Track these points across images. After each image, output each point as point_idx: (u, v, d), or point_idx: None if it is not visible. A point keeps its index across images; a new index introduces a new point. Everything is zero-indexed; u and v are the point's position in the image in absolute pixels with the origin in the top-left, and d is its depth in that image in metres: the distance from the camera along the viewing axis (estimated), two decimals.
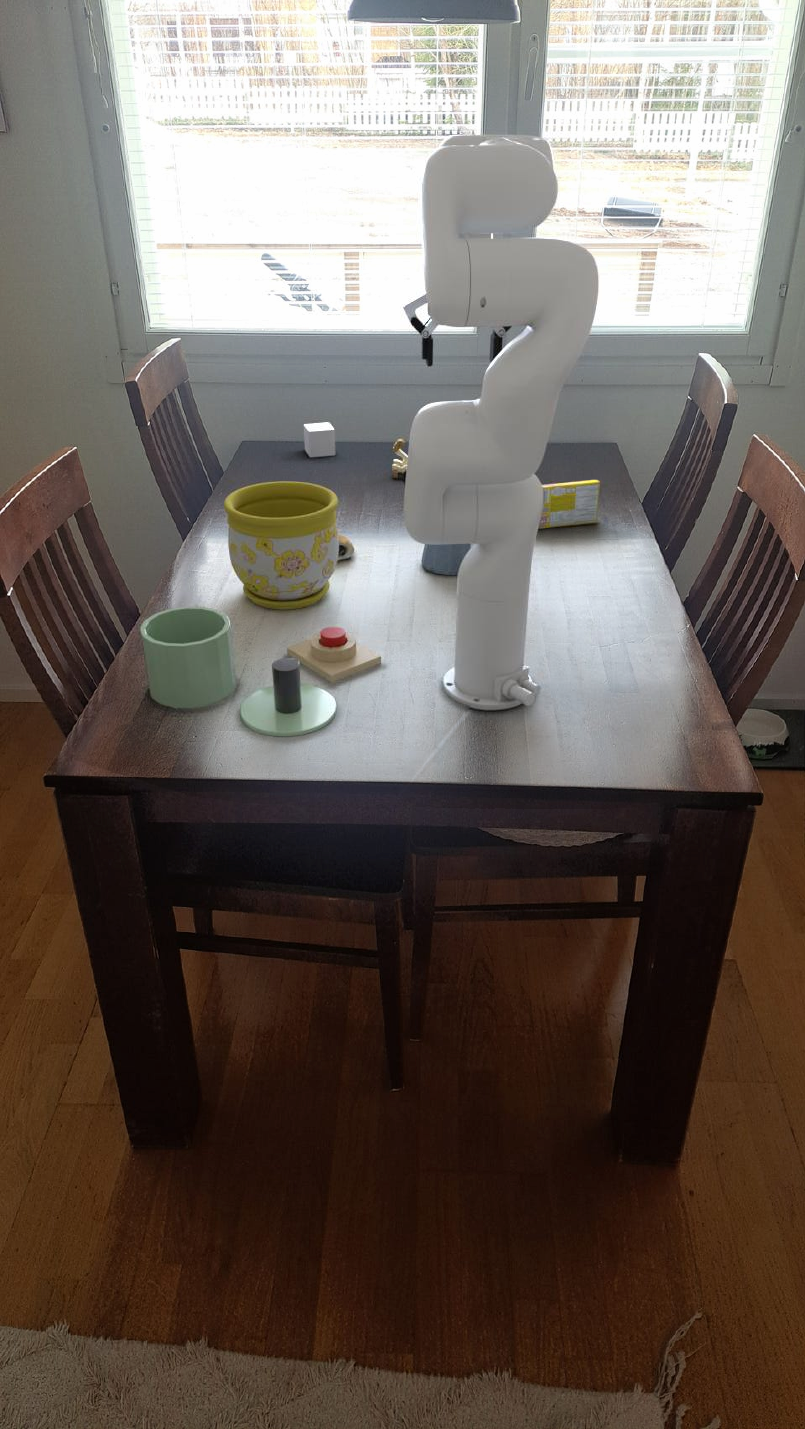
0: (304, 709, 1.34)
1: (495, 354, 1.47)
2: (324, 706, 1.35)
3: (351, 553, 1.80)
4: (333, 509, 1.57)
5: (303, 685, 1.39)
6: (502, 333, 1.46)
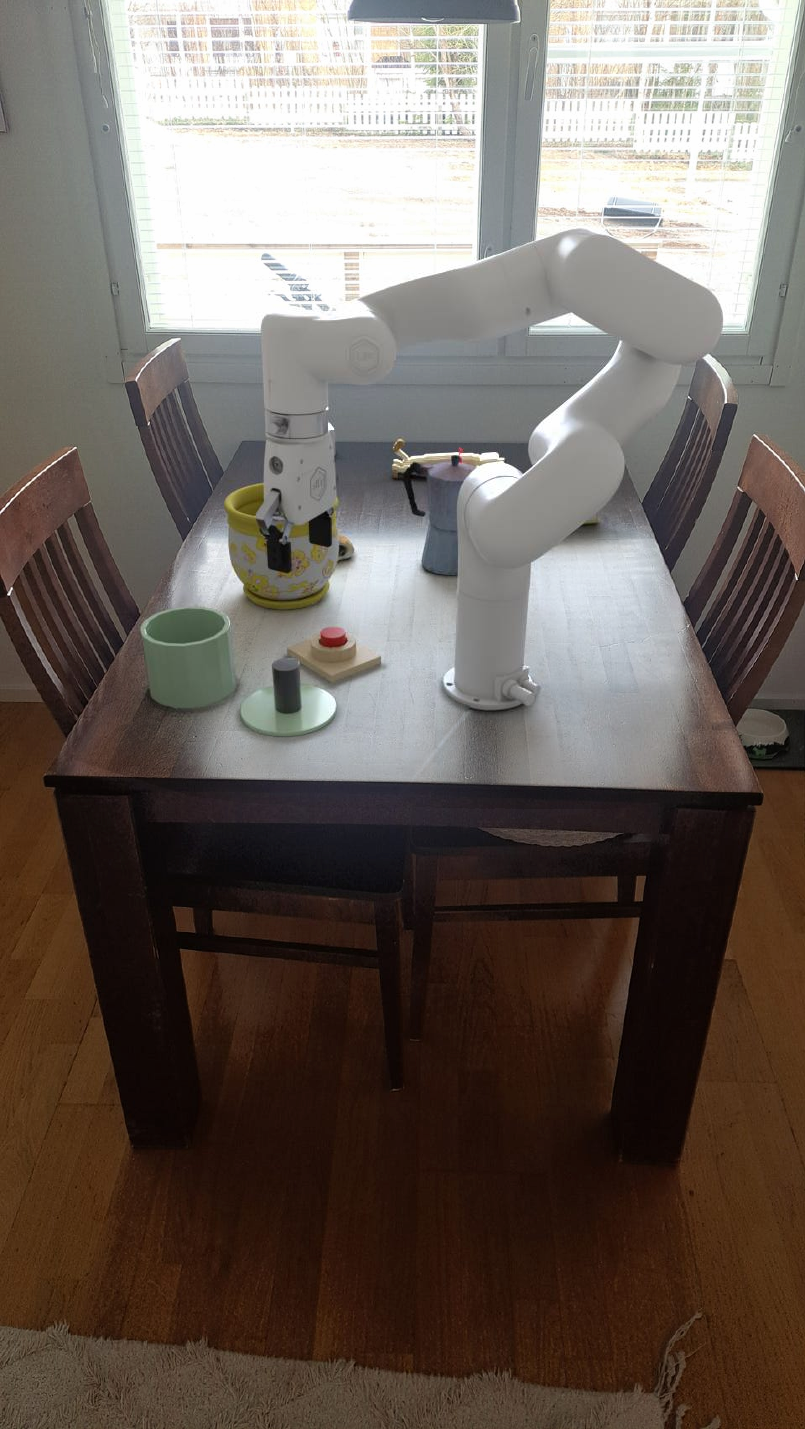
0: (304, 709, 1.34)
1: (330, 535, 1.30)
2: (324, 706, 1.35)
3: (351, 553, 1.80)
4: None
5: (303, 685, 1.39)
6: (331, 512, 1.30)
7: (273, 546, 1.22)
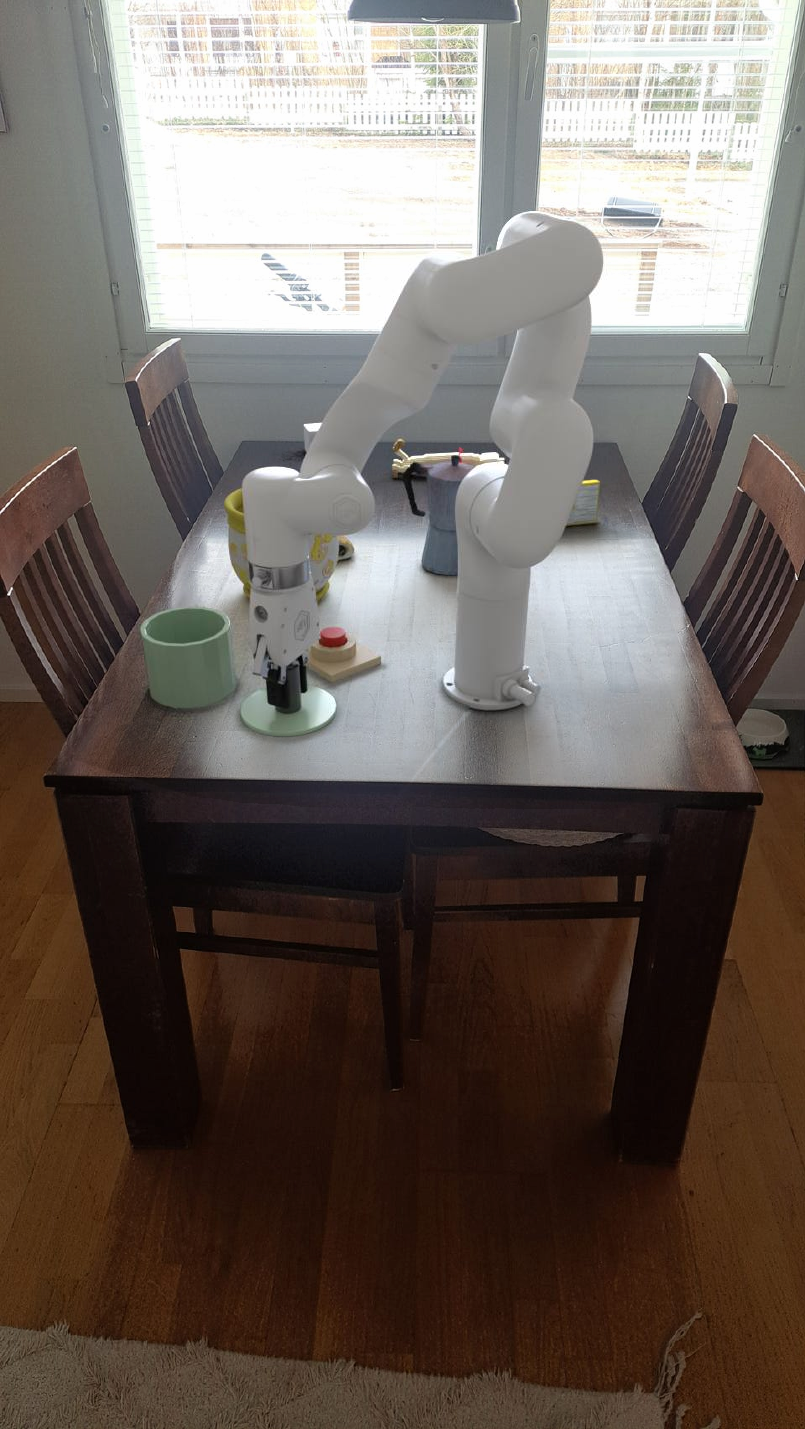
0: (304, 709, 1.34)
1: (305, 682, 1.34)
2: (324, 706, 1.35)
3: (351, 553, 1.80)
4: None
5: None
6: (305, 661, 1.33)
7: (272, 685, 1.30)
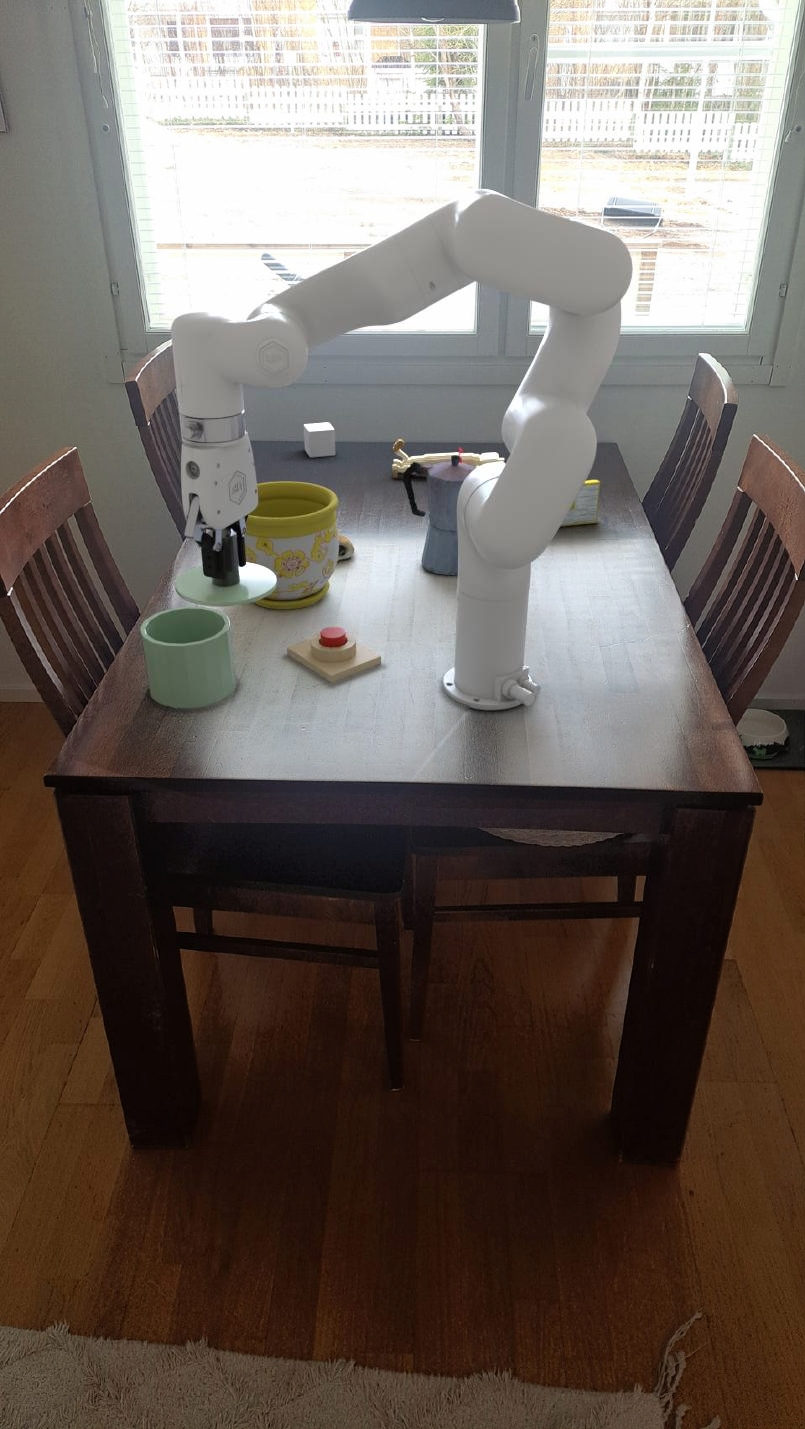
0: (242, 583, 1.28)
1: (243, 555, 1.28)
2: (264, 580, 1.29)
3: (351, 553, 1.80)
4: (333, 509, 1.57)
5: None
6: (243, 532, 1.27)
7: (207, 553, 1.24)
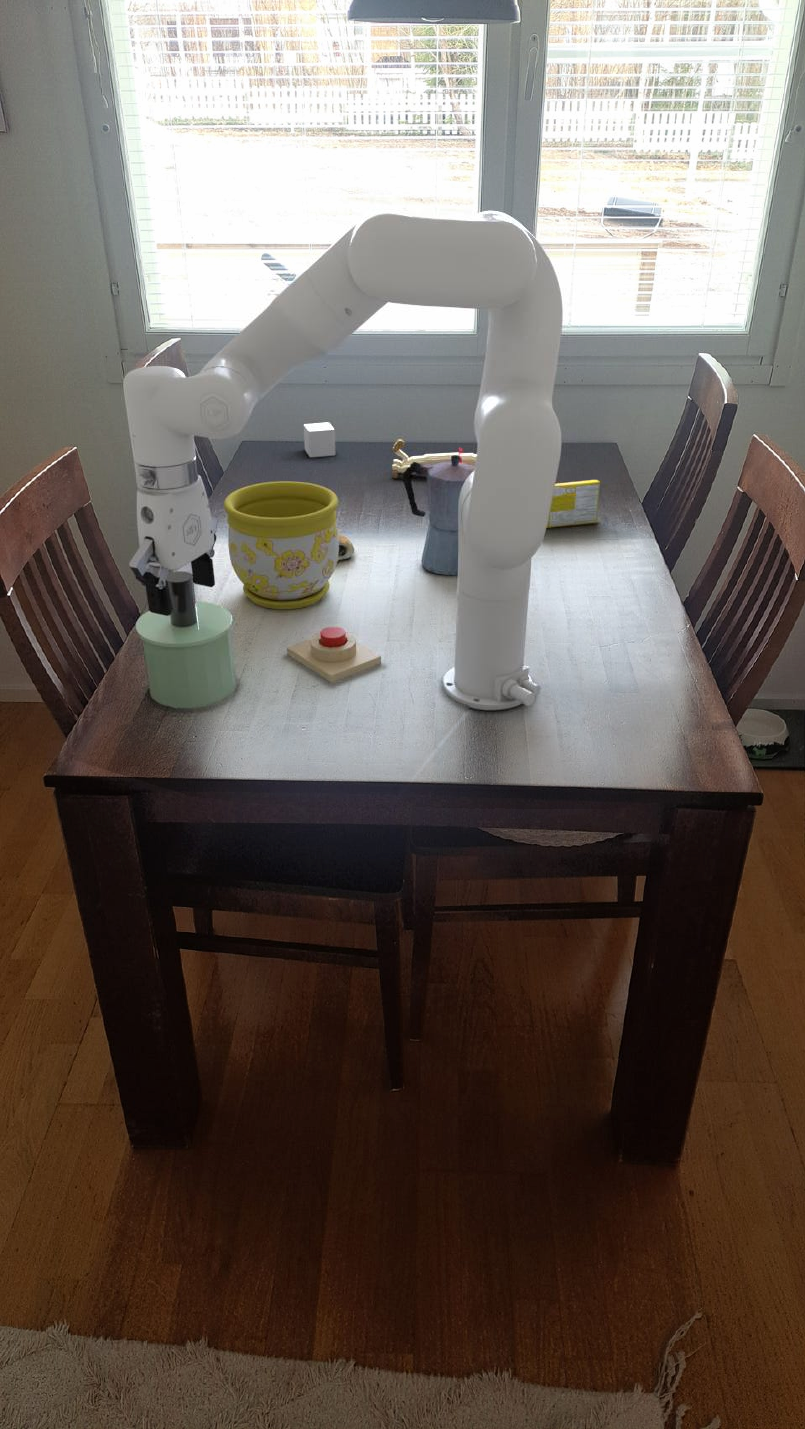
0: (199, 623, 1.35)
1: (212, 576, 1.36)
2: (220, 621, 1.35)
3: (351, 553, 1.80)
4: (333, 509, 1.57)
5: (203, 603, 1.40)
6: (211, 553, 1.35)
7: (151, 591, 1.27)
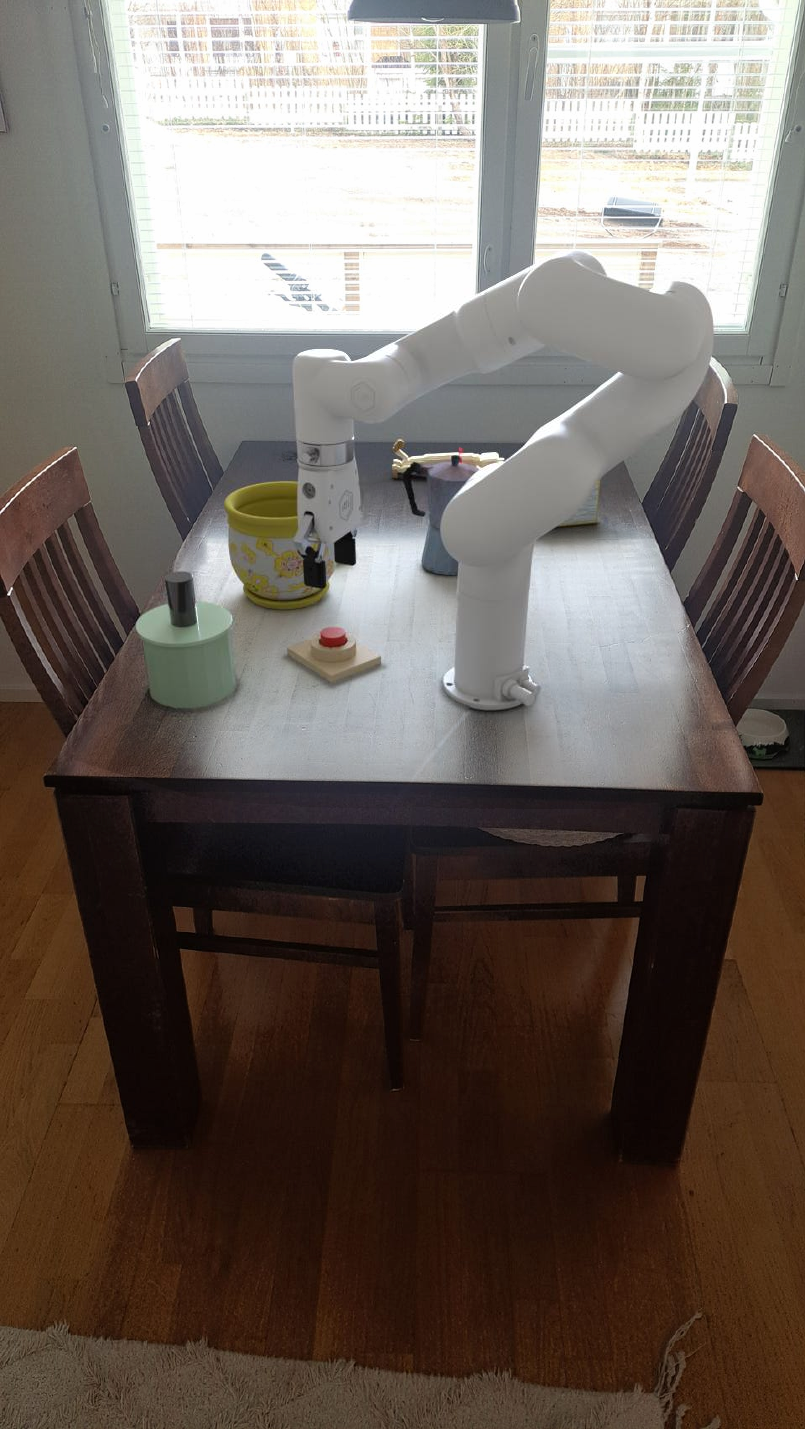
0: (199, 623, 1.35)
1: (354, 555, 1.42)
2: (220, 621, 1.35)
3: None
4: None
5: (203, 603, 1.40)
6: (354, 533, 1.42)
7: (309, 565, 1.35)
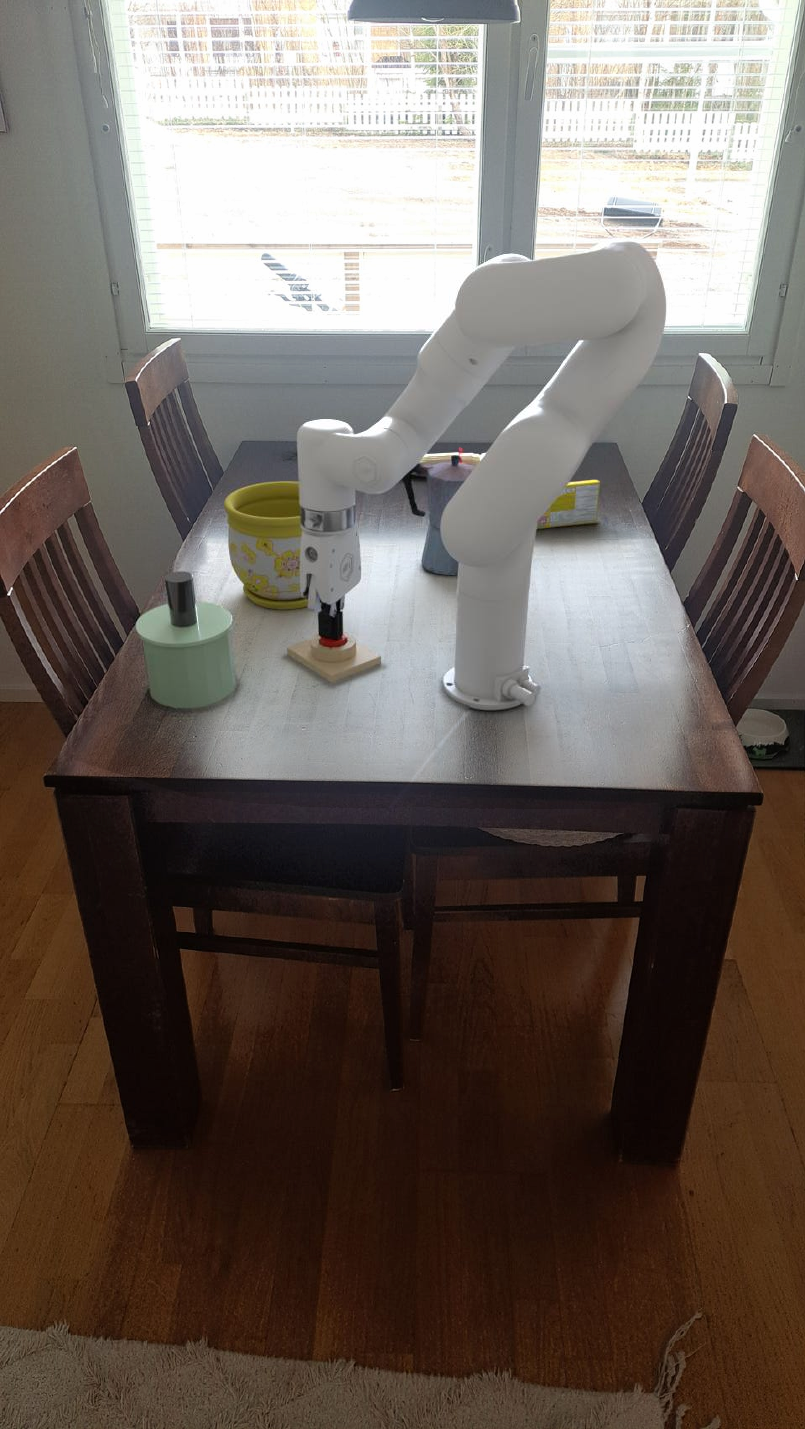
0: (199, 623, 1.35)
1: (341, 627, 1.45)
2: (220, 621, 1.35)
3: None
4: None
5: (203, 603, 1.40)
6: (341, 607, 1.44)
7: (324, 618, 1.43)
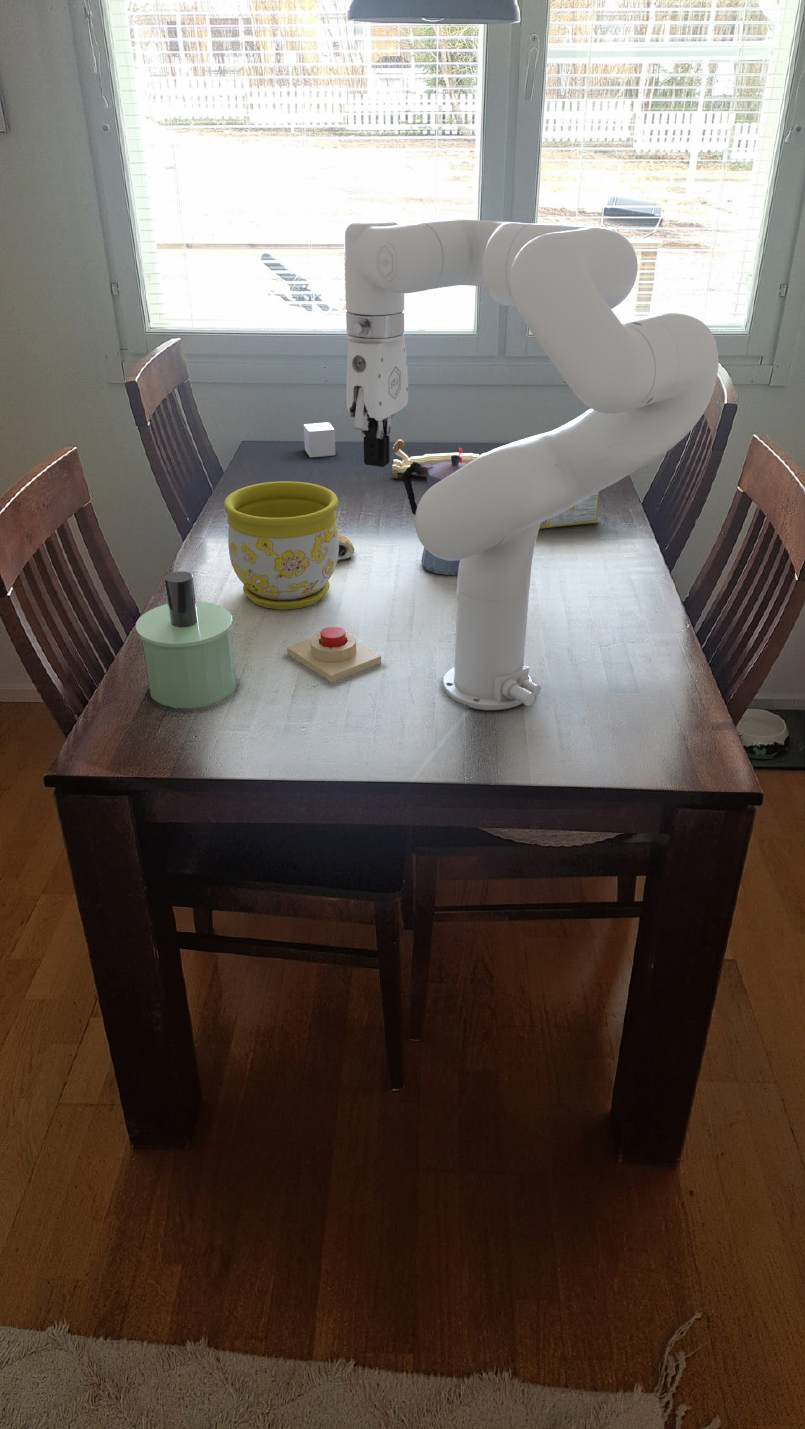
0: (199, 623, 1.35)
1: (388, 453, 1.39)
2: (220, 621, 1.35)
3: (351, 553, 1.80)
4: (333, 509, 1.57)
5: (203, 603, 1.40)
6: (388, 431, 1.39)
7: (370, 442, 1.37)
